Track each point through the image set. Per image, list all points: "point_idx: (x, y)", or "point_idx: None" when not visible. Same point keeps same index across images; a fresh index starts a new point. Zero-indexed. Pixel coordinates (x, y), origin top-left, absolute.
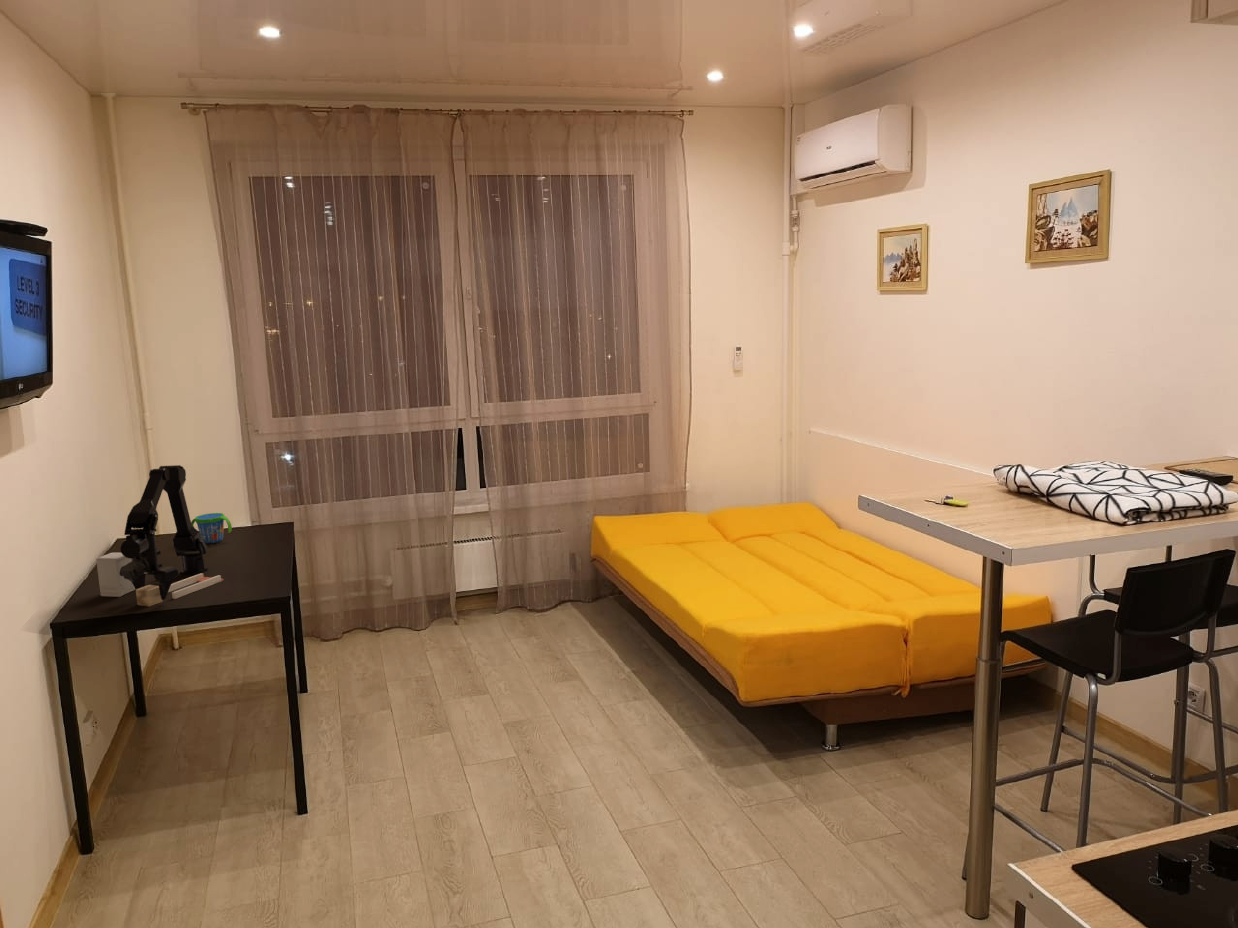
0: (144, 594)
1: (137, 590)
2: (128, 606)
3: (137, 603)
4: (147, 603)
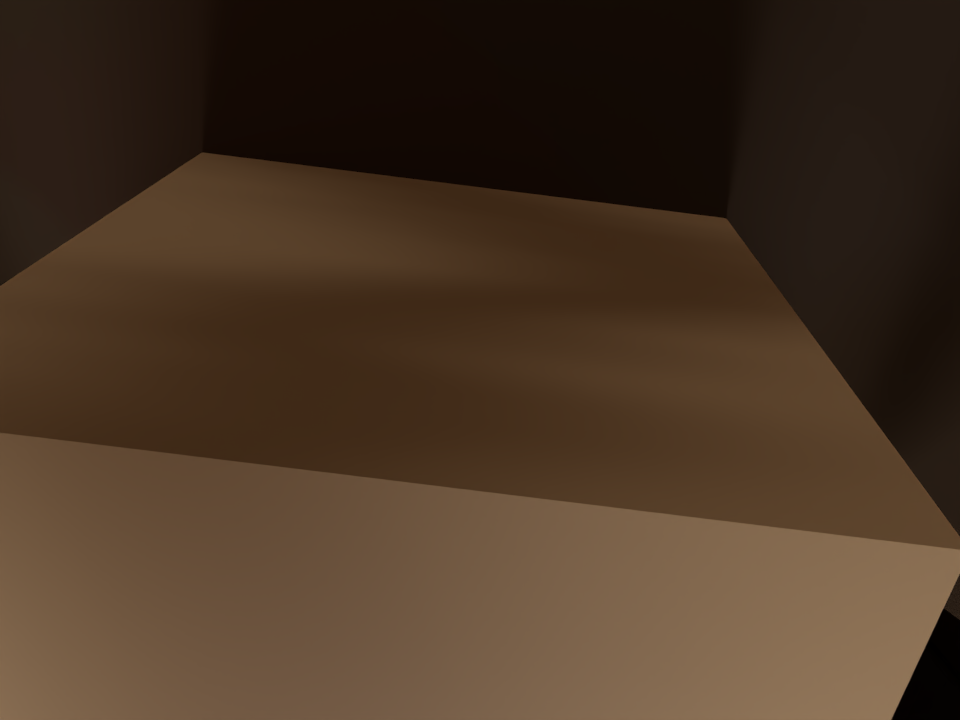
0: (254, 335)
1: (783, 493)
2: (954, 4)
3: (735, 234)
4: (253, 188)
